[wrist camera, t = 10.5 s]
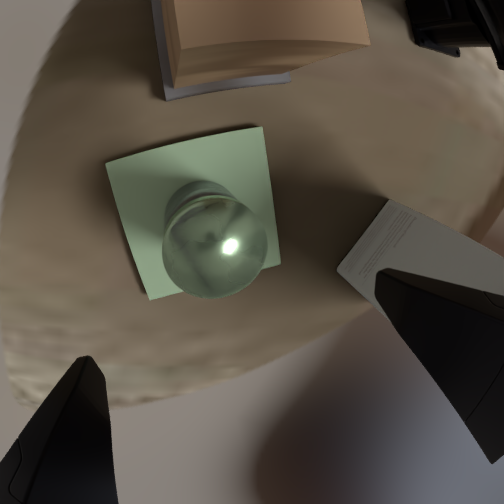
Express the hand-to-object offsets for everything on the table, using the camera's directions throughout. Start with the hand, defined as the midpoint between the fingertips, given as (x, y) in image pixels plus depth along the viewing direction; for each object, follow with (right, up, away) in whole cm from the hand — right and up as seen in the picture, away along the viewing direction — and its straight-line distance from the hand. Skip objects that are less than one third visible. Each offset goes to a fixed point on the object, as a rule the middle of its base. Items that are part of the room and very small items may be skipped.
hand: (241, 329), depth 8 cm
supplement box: (+11, +2, +15) cm, 19 cm away
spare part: (-3, +4, +9) cm, 10 cm away
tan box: (-2, +15, +5) cm, 16 cm away
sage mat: (-3, +4, +9) cm, 11 cm away
